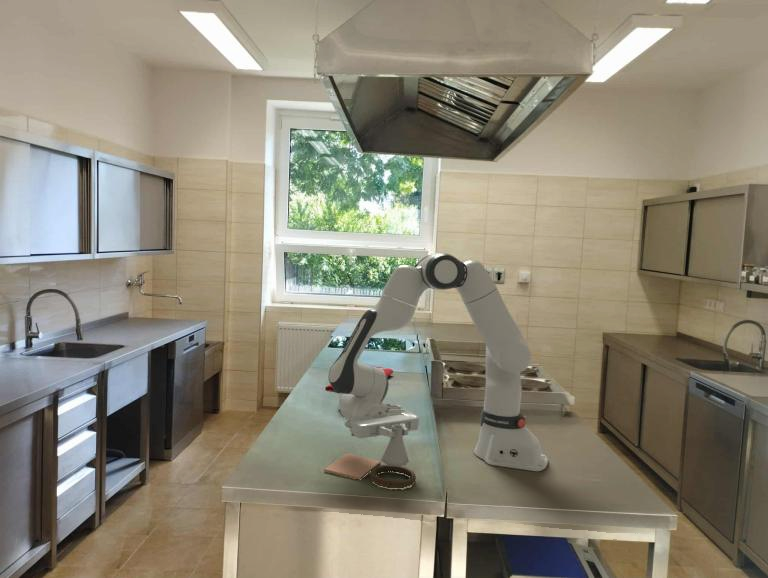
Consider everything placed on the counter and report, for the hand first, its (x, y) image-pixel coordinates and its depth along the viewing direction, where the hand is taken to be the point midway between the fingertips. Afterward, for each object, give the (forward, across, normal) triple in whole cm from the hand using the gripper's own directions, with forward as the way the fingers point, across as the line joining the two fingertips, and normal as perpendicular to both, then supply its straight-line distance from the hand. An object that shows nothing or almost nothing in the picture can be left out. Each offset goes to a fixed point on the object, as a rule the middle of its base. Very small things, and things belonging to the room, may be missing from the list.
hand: (399, 433), depth 166 cm
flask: (-1, 0, +8) cm, 9 cm away
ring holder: (-1, 0, +14) cm, 14 cm away
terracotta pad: (-13, -6, +13) cm, 20 cm away
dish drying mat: (-95, +42, +15) cm, 105 cm away
